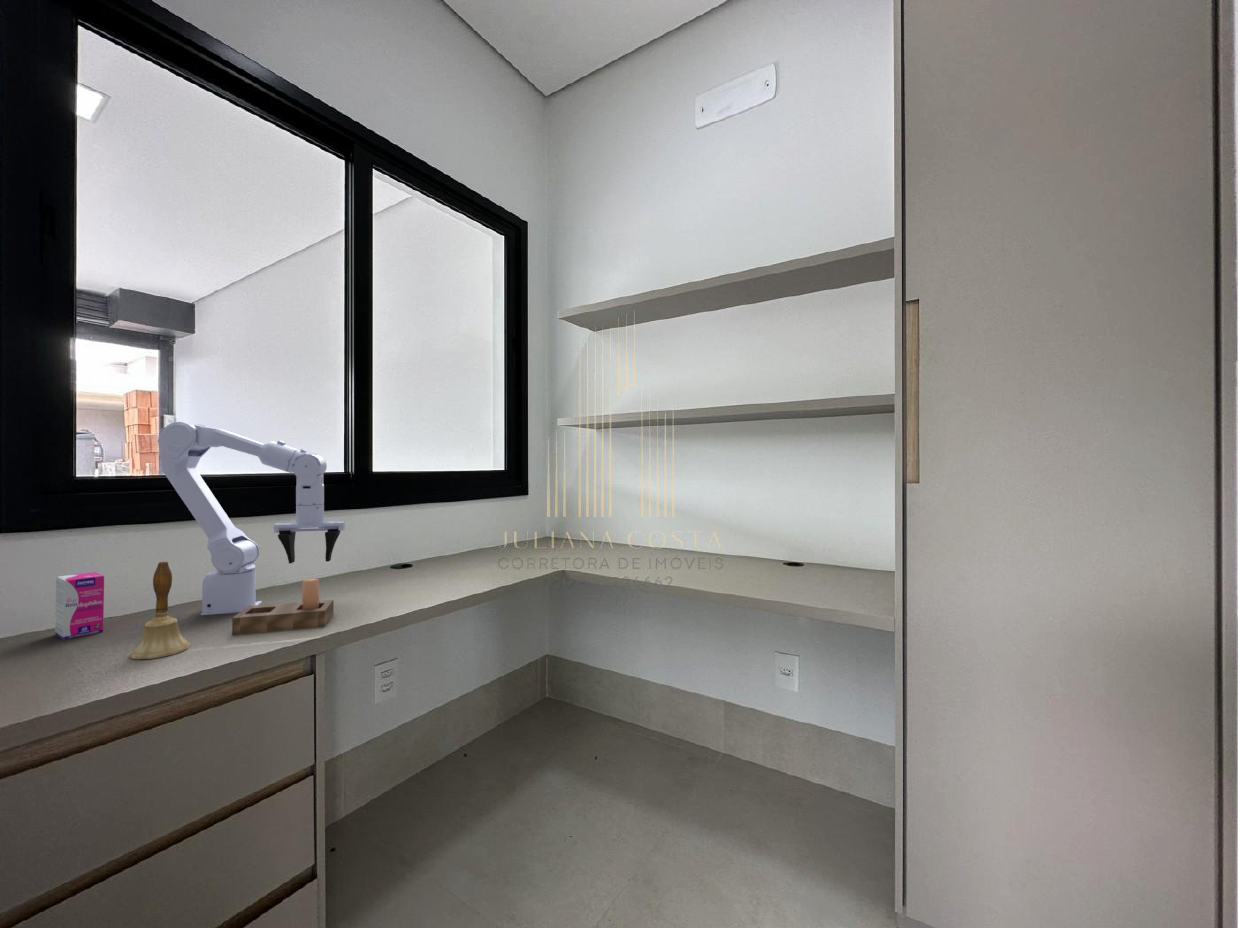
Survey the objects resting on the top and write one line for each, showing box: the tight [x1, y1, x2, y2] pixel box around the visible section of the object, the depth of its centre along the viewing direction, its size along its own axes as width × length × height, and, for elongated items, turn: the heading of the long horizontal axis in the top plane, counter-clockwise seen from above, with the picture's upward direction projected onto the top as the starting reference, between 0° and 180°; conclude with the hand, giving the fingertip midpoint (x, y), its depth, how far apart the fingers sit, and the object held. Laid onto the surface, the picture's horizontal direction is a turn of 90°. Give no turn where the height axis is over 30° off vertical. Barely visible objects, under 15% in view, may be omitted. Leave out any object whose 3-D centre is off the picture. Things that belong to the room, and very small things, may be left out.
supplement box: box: [54, 571, 105, 641], centre depth 103 cm, size 6×6×12 cm
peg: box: [301, 578, 320, 610], centre depth 110 cm, size 3×3×9 cm
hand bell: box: [129, 561, 192, 660], centre depth 93 cm, size 8×8×16 cm
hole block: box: [231, 599, 334, 636], centre depth 108 cm, size 16×9×4 cm, turn 109°
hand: (310, 561), depth 124 cm, fingers open, 7 cm apart
